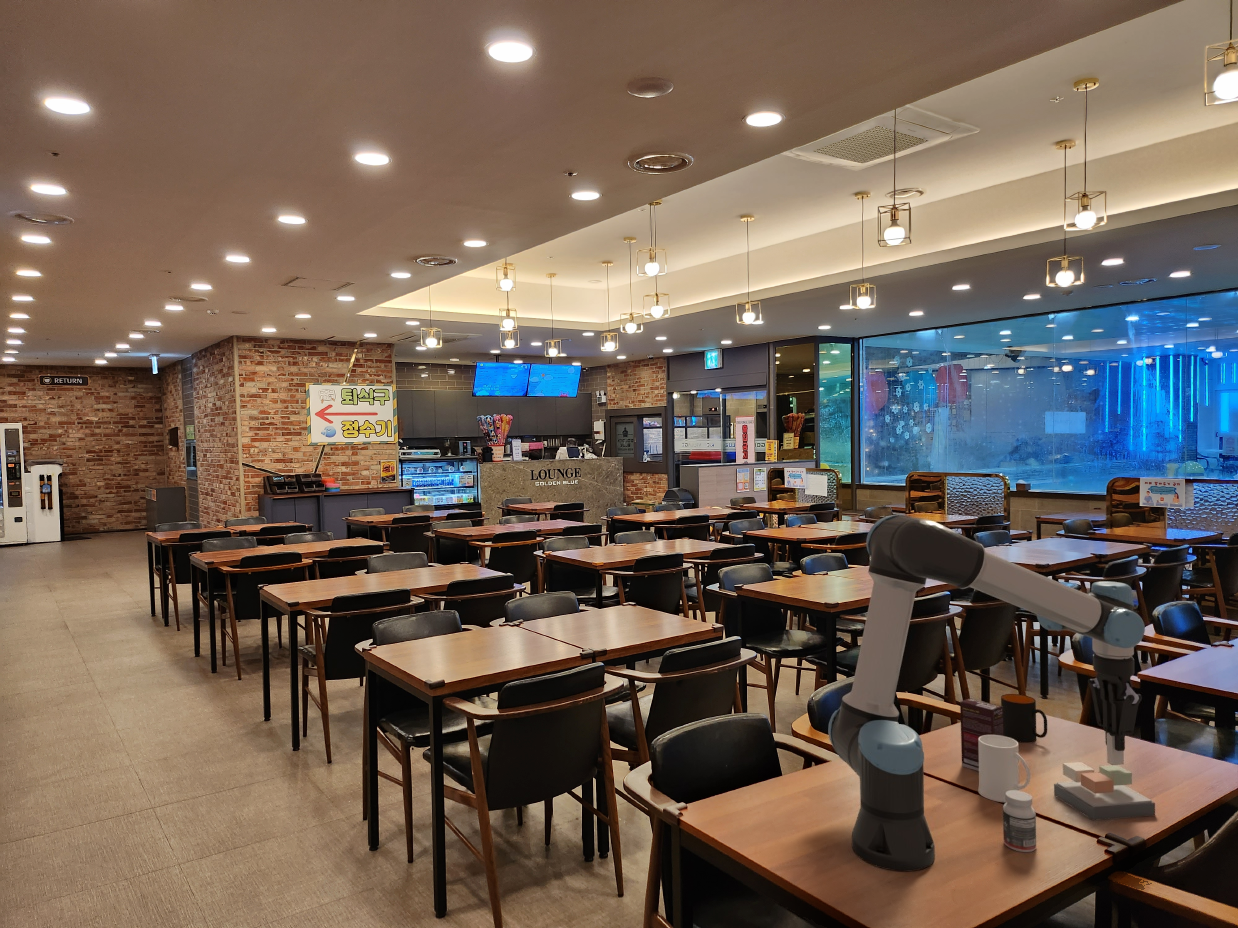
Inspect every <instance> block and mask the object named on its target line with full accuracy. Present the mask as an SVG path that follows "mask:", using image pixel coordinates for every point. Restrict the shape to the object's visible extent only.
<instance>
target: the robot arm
mask: <svg viewBox="0 0 1238 928" xmlns="http://www.w3.org/2000/svg"><path fill="white" fill-rule="evenodd" d="M866 550H867V552H868V555H869V557H870V561H869V567H868V572H867V573H868V575H869V576H870V578H871V579H872V580H873V584H872V589H871V595H870V598H869V599H870V600H869V605H868V609H867V613H866V619H865V623H864V629H863V633H862V637H861V642H860V647H859V653H858V658H857V663H856V667H855V668H856V669H855V672H854V678H853V682H852V688H851V690H850V692H848V693H846V694H845V695H843V696H842V698H841V703H840V706H839V708H838V709H837V710H835V711H834V712H833V713H832V715H831V717H830V719H829V722H828V730H827V731H828V732H827V733H828V738H829V741H830V744H831V746H832V748H833V749H834V751H835V753H836V754H837V755H838V757H839V758H840V759H841V760H842V761H843V762H844V763H846V765H848V766H849V767H850V769H851V770H853V771H854V773H855V774H856V775H857V776H858V777H859V794H860V798H859V799H860V808H859V810H858V815H857V817H856V820H855V824H854V826H853V829H852V833H851V847H852V850H853V852H854V854H856V856H858V857H859V858H860V859H861V858H862V859H861V860H863V861H865V862H866V863H868V864H870V865H873V866H875V867H879V868H882V869H886V870H890V871H898V872H899V871H901V872H903V871H904V872H907V871H908V872H909V871H910V872H912V871H919V870H923V869H925V868H927V867H930V866H931V865H932V864H933V863H934V862H935V859H936V858H935V857H936V854H935V853H936V851H935V850H936V847H935V842H934V839H933V836H932V833H931V830H930V828H929V825H928V823H927V819H926V815H925V798H924V797H925V791H924V790H925V789H924V788H925V787H924V786H925V784H924V782H925V781H924V780H925V779H924V777H925V775H924V772H925V770H924V762H925V752H924V749H923V742H922V738H921V737H920V735H919V734H918V733H917V732H916V731H915V730H914V729H913V728H912V727H910V726H908V725H905V724H899V722H898V720H899V716H900V712H899V710H898V709H897V707H896V706H895V704H894V702H895V696H896V690H897V685H898V683H899V682H898V681H899V676H900V673H901V671H900V670H901V666H902V662H903V656H904V654H905V653H904V652H905V649H906V648H905V647H906V642H907V638H908V637H907V636H908V633H909V627H910V623H911V619H912V613H913V609H914V608H913V607H914V602H915V598H916V592H918V591H919V590H920V589H922V588H924V587H925V586H926V583H927V579H928V580H932V581H938V582H941V583H945V584H947V585H951V586H953V587H956V588H958V589H961V590H964V589H967V588H972V589H975V590H976V591H980V592H981V593H984V594H985V595H989V596H991V597H994V598H996V599H999V600H1001V601H1004V602H1006V603H1008V604H1010V605H1013V606H1015V607H1018V608H1021V609H1023V610H1025V611H1028V612H1031V613H1032V614H1035V615H1036V619H1037V621H1038V623H1039V625H1040V626H1042V627H1041V628H1044V629H1045V630H1048V631H1057V632H1061V631H1069V632H1072V633H1074V634H1075V633H1076V634H1078V635H1081V636H1084V637H1087V638H1090V639H1091V640H1092V643H1091V645H1092V651H1093V654H1092V669H1093V671H1095V672H1096V675H1095V678H1090V679H1088V680H1087V684H1088V686H1089V688H1090V690H1091V696H1092V697H1091V698H1092V702H1093V707H1094V713H1095V718H1096V723H1097V725H1098V726H1099V727H1102V729H1103V731H1104V732H1105V734H1104V735H1105V738H1104V739H1105V745H1106V761H1107V762H1106V763H1107V764H1108V765H1118V766H1122V765H1124V764H1125V760H1124V759H1125V757H1124V754H1125V753H1124V751H1125V749H1126V739H1125V738H1126V736H1133V734H1134V731H1135V726H1136V725H1135V724H1136V721H1137V720H1136V719H1137V714H1138V709H1139V704H1140V703H1141V701H1142V700H1143V696H1142V695H1141V694H1140V693H1136V692H1135V690H1134V689H1133V684H1132V681H1131V677H1132V676H1134V674H1135V659H1134V657H1133V656H1134V654H1135V647H1136V646H1137V645H1139V644H1140V643H1141V641H1142V640H1143V638H1144V637H1145V636H1144V635H1145V631H1146V628H1145V627H1146V626H1145V622H1144V621H1143V619H1142V617H1141V616H1140V615H1139V614H1138V613H1137V612H1136V611H1134V606H1135V604H1134V594H1133V589H1132V587H1131V585H1129V584H1127V583H1124V582H1117V581H1096V582H1093V583H1092V584H1091V587H1090V588H1091V589H1090V592H1087V593H1085V592H1083V591H1080V590H1079V589H1075V588H1073V587H1071V586H1068V585H1066V584H1064V583H1062V582H1059V581H1056V580H1054V579H1051V578H1050V577H1047V576H1045V575H1042V574H1039V573H1038V572H1035V571H1033V570H1031V569H1027V568H1026V567H1024V566H1022V565H1018V564H1016V563H1013V562H1011V561H1008V560H1007V559H1004V558H1001V557H1000V556H997V555H995V554H992V553H990V552H988V551H986V550H985V547H984V545H983V544H982V543H980V542H977V541H975V540H973V539H970V538H968V537H966V536H964V535H962V534H960V533H958V532H956V531H954V530H953V529H950V528H949V527H947V526H945V525H943V524H942V523H939V522H937V521H934V520H931V519H927V518H920V517H914V516H910V515H906V514H893V515H887V516H884V517H882V518H879V520H876V521H875V522H874V524H873V525H872V526H871V528H870V529H869V531H868V533H867V536H866Z"/></svg>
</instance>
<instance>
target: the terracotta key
mask: <svg viewBox="0 0 1238 928" xmlns="http://www.w3.org/2000/svg"><path fill="white" fill-rule="evenodd" d="M1081 786H1083V787H1085V788H1087V789H1088V790H1090V791H1092V792H1093V793H1095V794H1098V793H1110V792H1114V780H1112V779H1110V778H1109V777H1107V776H1105V775H1103V774H1101V773H1099V772H1095V771H1094V773H1082V774H1081Z"/></svg>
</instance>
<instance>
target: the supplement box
mask: <svg viewBox="0 0 1238 928" xmlns="http://www.w3.org/2000/svg"><path fill="white" fill-rule="evenodd" d="M959 706H960V707H959V711H960V712H959V713H960V716H959V717H960V744H961V745H960V746H961V766H962V767H963V768H966V769H967V768H968V769H970V770H974V771H977V772H979V746H978V739H979V737H980V736H983V735H1000V736H1004V732H1003V706H1001V705H999V704H995V703H990V702H986V701H983V700H979V699H975V698H966V699H964V700H961V701H960V702H959Z"/></svg>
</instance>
